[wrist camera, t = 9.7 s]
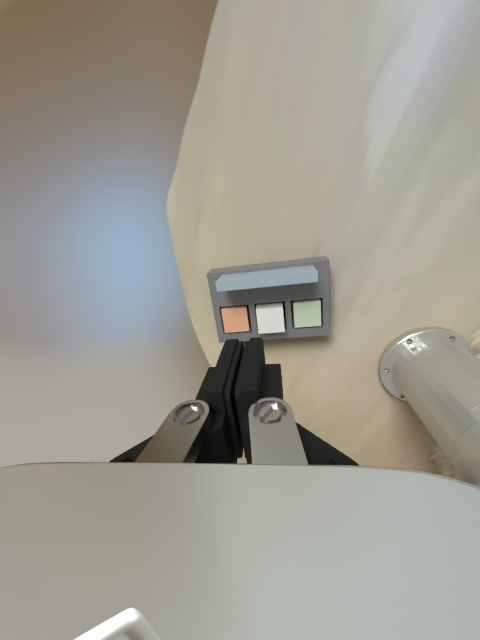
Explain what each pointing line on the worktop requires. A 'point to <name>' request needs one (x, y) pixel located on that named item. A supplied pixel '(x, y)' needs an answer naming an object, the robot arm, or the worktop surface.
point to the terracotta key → (236, 318)
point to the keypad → (271, 294)
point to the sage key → (306, 312)
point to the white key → (270, 317)
